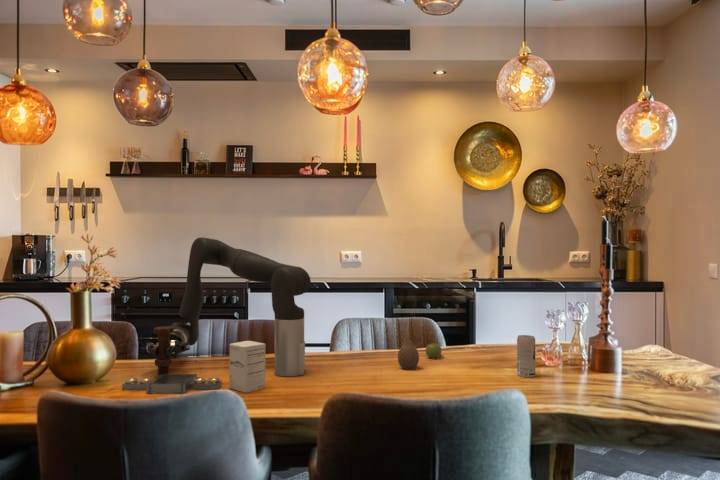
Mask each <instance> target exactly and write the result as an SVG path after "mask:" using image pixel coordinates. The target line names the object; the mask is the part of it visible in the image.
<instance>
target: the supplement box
mask: <svg viewBox="0 0 720 480" xmlns="http://www.w3.org/2000/svg"><path fill="white" fill-rule="evenodd" d="M228 363H229V367H228V368H229V369H228V370H229V372H228V374H229V375H228V376H229V377H228V378H229V379H228V380H229V382H228V383H229V384H228V387H229V389H230V390H231V389H232V390H236V391H239V392H242V393H244V394H247V393H250V392H251V393H252V392H255V391H258V390H262V389H265V388H266V343H264V342H259V341H254V340H244V341H237V342H233V343H229V362H228Z"/></svg>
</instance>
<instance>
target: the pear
mask: <svg viewBox="0 0 720 480" xmlns="http://www.w3.org/2000/svg"><path fill="white" fill-rule="evenodd" d="M442 350H443V349H442V347H441V346H440V344H438V343H429V344H428V345H426V347H425V355H426V356H427V357H428V358H429V359H431V358H436V359H438V358H439V357H440V356H441V355H442Z"/></svg>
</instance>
